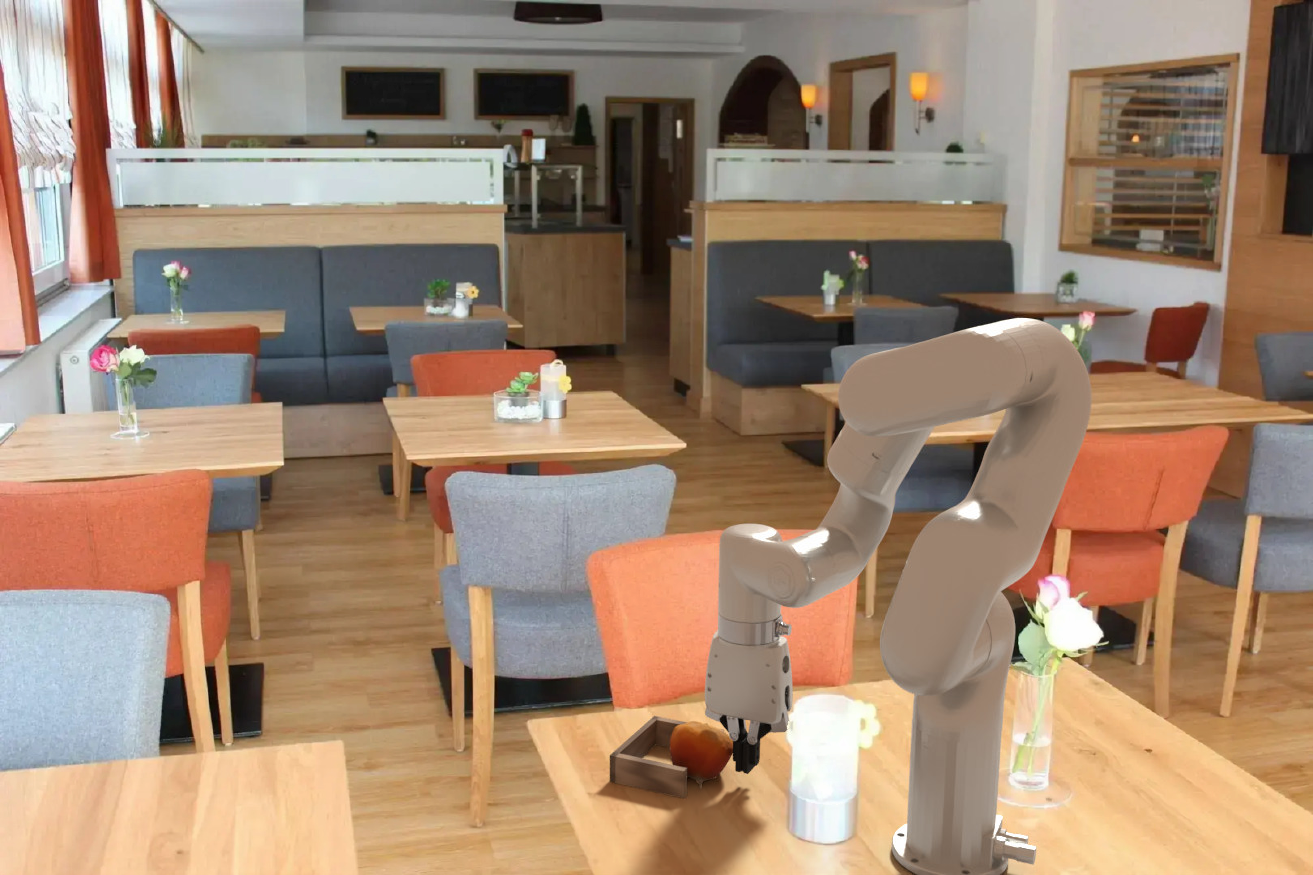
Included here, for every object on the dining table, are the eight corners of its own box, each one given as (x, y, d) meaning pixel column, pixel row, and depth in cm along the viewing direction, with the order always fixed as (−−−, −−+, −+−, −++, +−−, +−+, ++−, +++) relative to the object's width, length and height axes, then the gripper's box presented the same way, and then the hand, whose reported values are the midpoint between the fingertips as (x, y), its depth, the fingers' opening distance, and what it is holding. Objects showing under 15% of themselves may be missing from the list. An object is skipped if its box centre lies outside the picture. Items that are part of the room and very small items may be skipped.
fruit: (649, 774, 158) (666, 710, 160) (675, 783, 165) (691, 721, 167) (707, 790, 154) (723, 724, 156) (732, 798, 161) (747, 735, 163)
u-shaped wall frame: (723, 754, 167) (724, 729, 166) (683, 798, 155) (683, 771, 155) (654, 740, 171) (654, 715, 170) (609, 781, 160) (609, 755, 159)
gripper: (818, 627, 155) (813, 768, 159) (704, 608, 161) (702, 744, 165) (797, 647, 148) (793, 794, 152) (679, 627, 155) (678, 768, 158)
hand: (745, 768), depth 159 cm, fingers closed
